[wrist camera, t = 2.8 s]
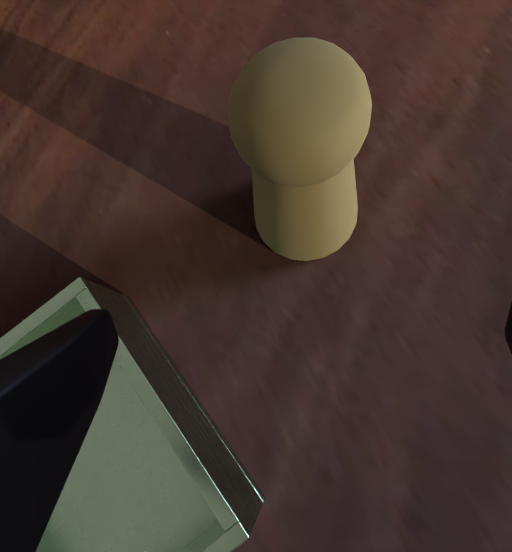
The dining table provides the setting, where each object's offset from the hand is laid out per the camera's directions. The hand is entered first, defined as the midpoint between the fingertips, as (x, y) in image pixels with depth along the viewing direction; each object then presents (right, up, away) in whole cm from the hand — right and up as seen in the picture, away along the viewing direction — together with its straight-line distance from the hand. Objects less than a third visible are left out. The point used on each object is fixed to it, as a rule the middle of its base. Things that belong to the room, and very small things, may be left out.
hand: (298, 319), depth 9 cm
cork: (+2, +5, +15) cm, 16 cm away
